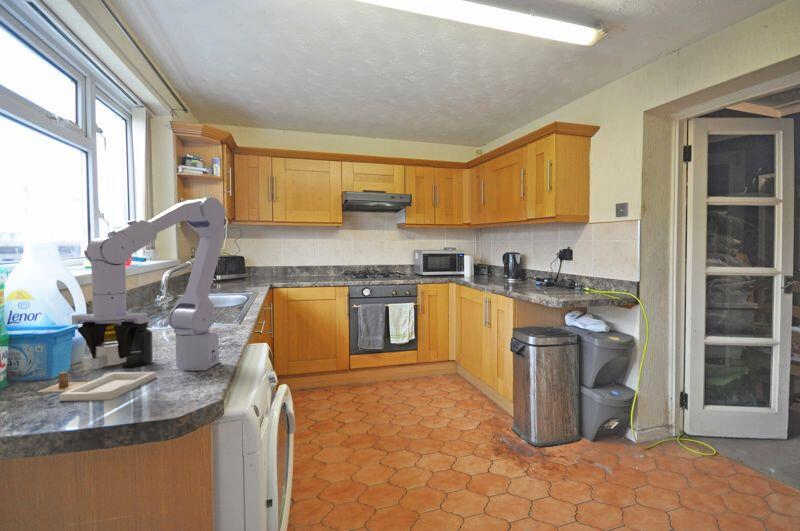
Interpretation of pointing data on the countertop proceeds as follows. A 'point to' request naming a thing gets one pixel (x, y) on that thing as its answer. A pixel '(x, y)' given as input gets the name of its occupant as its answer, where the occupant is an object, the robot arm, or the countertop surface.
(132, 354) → the supplement bottle
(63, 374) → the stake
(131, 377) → the tray
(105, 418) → the countertop surface
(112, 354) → the ring
